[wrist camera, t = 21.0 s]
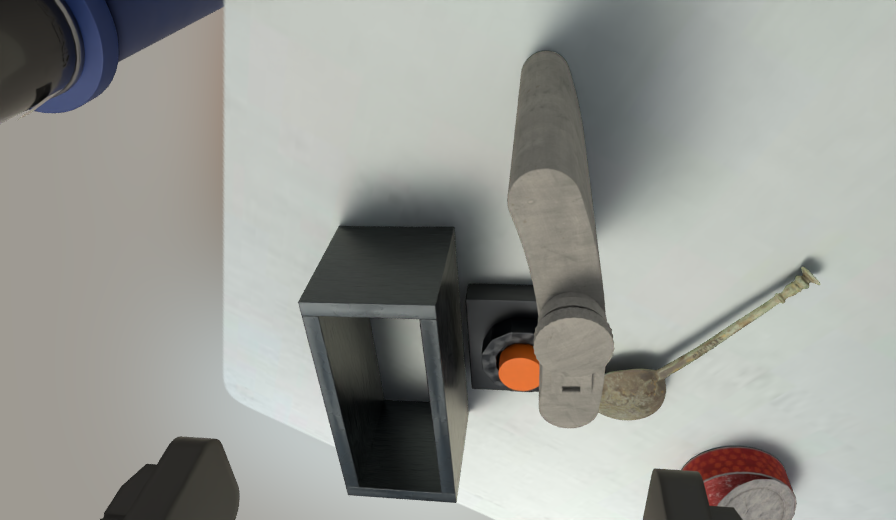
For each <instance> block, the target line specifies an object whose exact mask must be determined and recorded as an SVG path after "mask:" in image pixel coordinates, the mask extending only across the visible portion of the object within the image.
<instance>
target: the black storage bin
mask: <svg viewBox="0 0 896 520" xmlns="http://www.w3.org/2000/svg"><path fill="white" fill-rule="evenodd" d="M298 303H299V307H300V311H301V315H302V318H303V322H304V326H305V330H306V334H307V338H308V342H309V346H310V349H311V353H312V357H313V361H314V365H315V369H316V373H317V376H318V380H319V384H320V388H321V392H322V396H323V400H324V404H325V407H326V411H327V415H328V419H329V423H330V427H331V431H332V434H333V438H334V442H335V446H336V450H337V453H338V457H339V462H340V465H341V469H342V473H343V477H344V481H345V485H346V489H347V492H348V495H354V496H369V497H383V498H396V499H410V500H424V501H439V502H453V503H456V502H457V495H458V487H459V480H460V473H461V465H462V458H463V451H464V444H465V436H466V429H467V422H468V415H469V409H468V396H467V384H466V371H465V358H464V345H463V333H462V320H461V307H460V294H459V281H458V269H457V256H456V243H455V230H454V227H364V226H339V227H338V229H337V231H336V233H335V235H334V236H333V238H332V240H331V242H330V244H329V246H328V248H327V249H326V251H325V253H324V255H323V257H322V259H321V261H320V263H319V264H318V266H317V268H316V270H315V272H314V274H313V276H312V277H311V279H310V281H309V283H308V285H307V287H306V289H305V290H304V292H303V294H302V296H301V298H300V300H299V302H298ZM370 318H401V319H419V320H420V328H421V336H422V343H423V351H424V359H425V367H426V375H427V383H428V391H429V399H430V402H413V401H392V400H384V394H383V389H382V383H381V378H380V372H379V367H378V362H377V356H376V351H375V345H374V340H373V334H372V329H371V323H370Z"/></svg>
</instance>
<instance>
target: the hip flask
mask: <svg viewBox="0 0 896 520" xmlns="http://www.w3.org/2000/svg"><path fill="white" fill-rule="evenodd" d="M507 202H508V208H509V212H510V214H511V217H512V219H513V222H514V224H515V227H516V229H517V232H518V235H519V237H520V240H521V243H522V246H523V249H524V252H525V256H526V259H527V262H528V266H529V270H530V274H531V278H532V282H533V287H534V292H535V297H536V302H537V309H538V316H539V317H538V325H537V327H536V328H535V333H534V347H533V348H534V354H535V355H536V359H537V360H538V361H539V411H540V414H541V416H542V417H543V418H544V419H545V420H546V421H547V422H549V423H551V424H552V425H555V426H558V427H562V428H577V427H581V426H584V425H587V424H588V423H590V422H591V421H592V420H594V419H595V417H596V416H597V413H598V410H599V406H600V401H601V396H602V390H603V384H604V376H605V366H606V365H607V363H608V362H609V361H610V360H611V357H612V356H613V351H614V341H613V334H612V329H611V328H610V326H609V324H608V323H607V319H606V315H605V302H604V291H603V283H602V275H601V267H600V259H599V251H598V243H597V235H596V227H595V219H594V211H593V203H592V194H591V186H590V178H589V170H588V162H587V154H586V146H585V138H584V130H583V124H582V118H581V113H580V108H579V103H578V98H577V94H576V91H575V87H574V83H573V80H572V76H571V73H570V70H569V66H568V64H567V62H566V61H565V59H564V58H563V57H562V56H561V55H559V54H557V53H555V52H552V51H541V52H537V53H535V54H533V55H532V56H531V57H529V58H528V59H527V61H526V62H525V63H524V65H523V68H522V71H521V79H520V89H519V98H518V107H517V116H516V125H515V135H514V144H513V153H512V162H511V171H510V181H509V190H508V199H507Z"/></svg>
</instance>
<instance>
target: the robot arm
mask: <svg viewBox="0 0 896 520" xmlns="http://www.w3.org/2000/svg"><path fill="white" fill-rule="evenodd" d="M84 56H85V53H84V44H83V39H82V35H81V31H80V29H79V26H78V23H77V21H76V19H75V17H74V15H73V13H72V11H71V10H70V8H69V6H68V5H67V3H66V2H65V0H0V124H1V123H3V122H5V121H7V120H9V119H11V118H13V117H14V116H16V115H18V114H20V113H22V112H24V111H26V110H28V109H30V108H32V107H33V108H32V109H31V110H29V111H28V112H27V113H26V114H24V115H23V116H22V117H24V116H26V115H28V114H29V113H31V112H33V111H34V110H35V109H37V108H38V107H39V106H41V105H42V104H43V103H45V102H46V101H47V100H49V99H51V98H54V97H56V96H58V95H60V94H62V93H64V92H66V91H68V90H69V89H70V88H72V87H73V86H74V85H75V83H76V82H77V81H78V79H79V77H80V75H81V73H82V70H83V66H84ZM34 106H35V107H34ZM22 117H20V118H22ZM238 507H239V487H238V484H237V482H236V479H235V477H234V474H233V471H232V469H231V467H230V464H229V461H228V459H227V456H226V454H225V451H224V449H223V446H222V444H221V442H220V441H219V440H218V439H211V438H194V437H177V438H175V439H174V440H173V441H172V442H171V443H170V444H169V446H168V447H167V449H166V451H165V452H164V454H163V455H162V457H161V459H160V460H159V462H158V464H157V465H154V464H146V465H145V466H144V467H142V468H141V469H140V470H139V471H138V472H137V473H136V474H135V475H134V476H132V477H131V478H130V479H129V480H128V481H127V482H126V483H125V484H124V485H122V486H121V488H120V489H119V491H118V492H117V494H116V495H115V497H114V499H113V500H112V502H111V504H110V505H109V506H108V508H107V510H106V511H105V513H104V518H103V519H100V520H235V519H236V515H237V512H238ZM643 520H743V519H742V518H741V517H740V515H739V514H738V513H737V511H736V510H735V508H734V507H721V506H709V502H708V498H707V494H706V490H705V486H704V482H703V479H702V476H701V474H700V473H699V472H698V471H684V470H668V469H654V470H653V472H652V475H651V481H650V486H649V491H648V496H647V501H646V506H645V511H644V516H643Z"/></svg>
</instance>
